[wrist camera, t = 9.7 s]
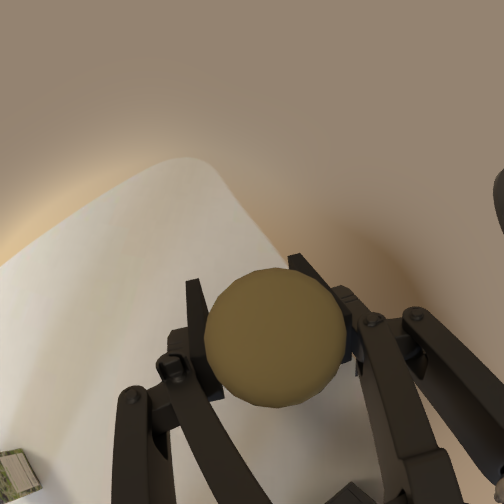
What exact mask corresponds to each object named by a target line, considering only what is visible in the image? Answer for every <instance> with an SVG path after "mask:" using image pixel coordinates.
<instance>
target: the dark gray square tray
mask: <svg viewBox="0 0 504 504" xmlns="http://www.w3.org/2000/svg"><path fill="white" fill-rule="evenodd" d="M325 504H377V503H376V502H375V501H374V500H373V499H371V498H370V497H369V496H368V495H367V494H365V493H364V492H363V491H362V490H361V489H359V488H358V487H357V486H356V485H355V484H354V483H353V482H350V483H349V484H347V485H346V486H345V487H344V488H343V489H342V490H341V491H339V492H338V493H337V494H336V495H335V496H334V497H332V498H331V499H330V500H329V501H328V502H326V503H325Z"/></svg>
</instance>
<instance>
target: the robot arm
mask: <svg viewBox="0 0 504 504" xmlns="http://www.w3.org/2000/svg"><path fill="white" fill-rule="evenodd" d="M288 263H289V270H296V271H299V272H301V273H303V274H305V275H307V276H309V277H311V278H314V279H316V280H317V281H318V282H319V283H320V284H321V285H322V286H324V287H325V288H326V289H327V290H328V291H329V292H330V293H331V294H332V296H333V297H334V299H335V301H336V302H337V304H338V306H339V307H340V309H341V311H342V314H343V318H344V322H345V327H346V331H347V336H346V347H345V355H344V357H343V359H342V362H341V364H343V363H346V362H349V361H351V360H352V352H353V354H354V355H355V357H356V371H355V377H356V376H358V375H359V379H360V383H361V387H362V391H363V395H364V399H365V403H366V407H367V411H368V415H369V419H370V424H371V428H372V432H373V437H374V441H375V446H376V451H377V455H378V460H379V465H380V470H381V475H382V480H383V485H384V504H468V503H464V502H463V498H462V495H461V492H460V489H459V485H458V482H457V478H456V475H455V472H454V469H453V466H452V463H451V460H450V457H449V455H448V453H447V451H446V450H445V449H444V448H439V447H438V445H437V443H436V440H435V437H434V434H433V432H432V429H431V426H430V423H429V420H428V418H427V415H426V412H425V410H424V407H423V405H422V402H421V399H420V397H419V394H418V392H417V389H416V387H415V384H416V385H417V386H418V388H419V389H420V390H421V391H422V393H423V394H424V395H425V397H426V398H427V399H428V400H429V402H430V403H431V405H432V406H433V407H434V409H435V410H436V411H437V412H438V414H439V415H440V416H441V418H442V419H443V420H444V422H445V423H446V425H447V426H448V427H449V429H450V430H451V431H452V432H453V434H454V435H455V437H456V438H457V439H458V441H459V442H460V444H461V445H462V446H463V447H464V449H465V450H466V452H467V453H468V455H469V456H470V457H471V459H472V460H473V462H474V463H475V464H476V466H477V467H478V469H479V470H480V471H481V472H482V474H483V475H484V476H485V477H486V478H487V479H488V480H489V481H490V482H491V483H492V484H494V485H495V486H496V487H495V495H494V499H495V501H496V502H498V503H502V504H504V384H503V383H502V382H501V381H500V380H499V379H498V378H497V377H496V376H495V375H494V374H493V373H492V372H491V371H490V370H489V369H488V368H487V367H486V366H485V365H484V364H483V363H482V362H481V361H480V360H479V359H478V358H477V357H476V356H475V355H474V354H473V353H472V352H471V351H470V350H469V349H468V348H467V347H466V346H465V345H464V344H463V343H462V342H461V341H460V340H458V338H456V336H454V335H453V334H452V333H451V332H450V331H449V330H448V329H447V328H446V327H445V326H444V325H443V324H442V323H440V321H438V320H437V319H436V318H435V317H434V316H433V315H432V314H431V313H430V312H429V311H428V310H426V309H424V308H421V307H410V308H407V309H406V310H405V311H404V312H403V316H402V318H395V319H386V318H385V317H384V316H383V315H381V314H379V313H375V312H371V311H370V310H369V309H368V308H367V307H366V306H365V305H364V304H363V303H362V302H361V301H360V300H359V299H358V298H357V296H356V295H354V293H353V292H352V291H351V290H350V289H349V288H346V287H344V286H342V285H340V286H337V287H333V288H330V287H329V286H328V284H327V283H326V282H325V281H324V280H323V279H322V278H321V277H320V275H319V274H318V273H317V272H316V271H315V270H314V269H313V267H312V266H311V265H310V264H309V263H308V262H307V260H306V259H305V258H304V257H303V256H302V255H301V254H300V253H298V254H294V255H290V256H288ZM186 303H187V322H188V327H184V328H180V329H176V330H172V331H171V332H170V334H169V336H168V341H167V345H168V346H167V351H168V352H167V353H165V354H164V355H162V356H161V357H160V358H159V359H158V360H157V362H156V369H157V371H158V373H159V375H160V377H161V379H162V382H161V383H159V384H158V385H156V386H154V387H152V388H150V389H148V390H146V389H145V388H144V387H142V386H139V385H138V386H131V387H128V388H126V389H125V390H123V391H122V392H121V394H120V395H119V398H118V403H117V413H116V423H115V435H114V448H113V464H112V491H111V504H177V503H176V495H175V486H174V476H173V466H172V455H171V442H170V430H172V429H174V428H176V427H178V426H181V428H182V430H183V433H184V435H185V437H186V439H187V442H188V444H189V446H190V448H191V450H192V453H193V455H194V457H195V459H196V461H197V463H198V465H199V467H200V469H201V471H202V473H203V475H204V477H205V479H206V481H207V483H208V485H209V487H210V489H211V491H212V493H213V495H214V497H215V499H216V500H217V502H218V504H273V503H272V502H271V501H270V499H269V498H268V496H267V495H266V493H265V492H264V491H263V489H262V488H261V486H260V485H259V483H258V482H257V480H256V479H255V477H254V476H253V474H252V472H251V471H250V469H249V468H248V466H247V465H246V463H245V462H244V460H243V458H242V457H241V455H240V454H239V452H238V450H237V449H236V447H235V445H234V444H233V442H232V440H231V439H230V437H229V435H228V434H227V432H226V430H225V429H224V427H223V425H222V424H221V422H220V420H219V418H218V417H217V415H216V413H215V411H214V410H213V408H212V406H211V404H210V402H211V401H216V400H220V399H224V398H225V397H224V391H223V386H222V384H221V383H220V382H219V381H218V380H217V378H216V376H215V374H214V372H213V370H212V368H211V366H210V365H209V363H208V361H207V356H206V349H205V343H204V333H205V328H206V322H207V317H208V314H209V312H208V309H207V305H206V302H205V298H204V295H203V292H202V288H201V285H200V281H199V278H197V279H193V280H189V281H186ZM341 364H340V365H341ZM413 381H414V382H415V384H414V382H413Z"/></svg>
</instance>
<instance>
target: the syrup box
mask: <svg viewBox="0 0 504 504" xmlns="http://www.w3.org/2000/svg"><path fill="white" fill-rule="evenodd" d="M40 489H42V486H41V485H40V483H39V481H38V480H37V478H36V476H35V474H34V472H33V471H32V469H31V467H30V465H29V463H28V461H27V459H26V457H25V455H24V453H23V451H22V449H15V450H9V451H3V452H0V504H5V503H8V502H11V501H13V500H16V499H18V498H21V497H24V496H26V495H28V494H31V493H33V492H36V491H38V490H40Z"/></svg>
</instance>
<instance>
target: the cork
mask: <svg viewBox="0 0 504 504" xmlns="http://www.w3.org/2000/svg"><path fill="white" fill-rule="evenodd" d="M346 336H347V331H346V327H345V322H344V318H343V314H342V311H341V309H340V307H339V306H338V304H337V302H336V301H335V299H334V297H333V296H332V294H331V293H330V292H329V291H328V290H327V289H326V288H325V287H324V286H322V285H321V284H320V283H319V282H318V281H317V280H316V279H314V278H311V277H309V276H307V275H305V274H303V273H301V272H299V271H296V270H289V269H282V268H270V269H264V270H257V271H253V272H251V273H249V274H247V275H245V276H243V277H241V278H239V279H237V280H235V281H234V282H233V283H232V284H231V285H230V286H229V287H228V288H227V289H226V290H225V291H224V292H223V293H221V294H220V295H219V296H218V298H217V300H216V301H215V303H214V305H213V307H212V309H211V311H210V313H209V314H208V317H207V322H206V328H205V333H204V343H205V349H206V356H207V361H208V363H209V365H210V366H211V368H212V370H213V372H214V374H215V376H216V378H217V380H218V381H219V382H220V383H221V384H222V385H223V386H224V387H225V388H226V389H227V390H228V391H229V392H231V393H232V394H233V395H234V396H235V397H238V398H240V399H242V400H244V401H246V402H248V403H250V404H252V405H255V406H262V407H270V408H282V407H287V406H292V405H297V404H301V403H303V402H304V401H306V400H308V399H310V398H311V397H313V396H315V395H317V394H318V393H320V392H321V391H322V390H323V389H324V388H325V386H326V385H327V384H328V383H329V382H330V381H331V380H332V379H333V377H334V376H335V375H336V373H337V371H338V369H339V366H340V364H341V362H342V359H343V357H344V355H345V347H346Z"/></svg>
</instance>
